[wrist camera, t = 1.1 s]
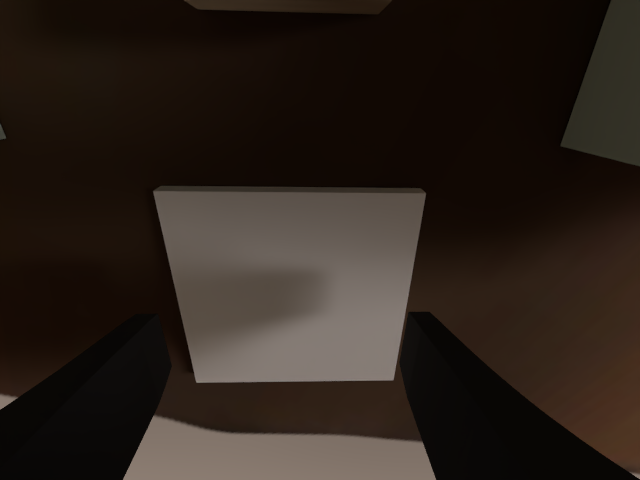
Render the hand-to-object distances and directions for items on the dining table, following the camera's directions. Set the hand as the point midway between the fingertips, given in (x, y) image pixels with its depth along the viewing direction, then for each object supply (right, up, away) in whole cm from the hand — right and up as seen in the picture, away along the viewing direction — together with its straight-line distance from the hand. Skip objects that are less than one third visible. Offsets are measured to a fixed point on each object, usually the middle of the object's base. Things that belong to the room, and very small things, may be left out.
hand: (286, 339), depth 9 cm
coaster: (0, +1, +4) cm, 4 cm away
